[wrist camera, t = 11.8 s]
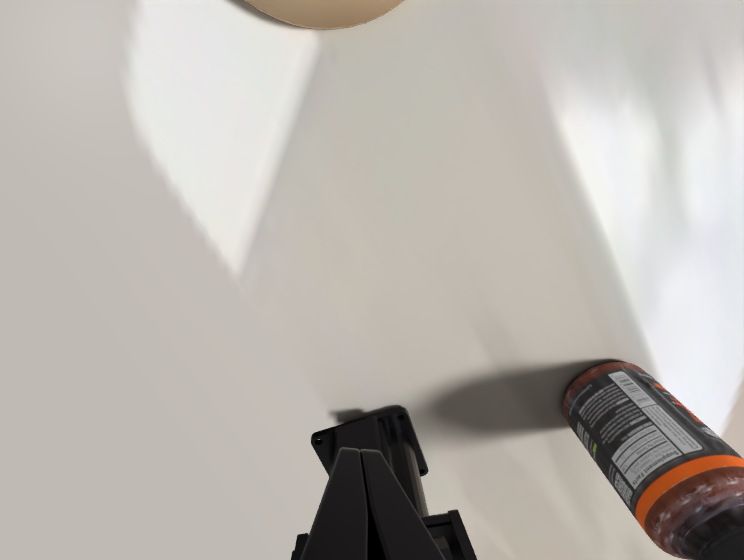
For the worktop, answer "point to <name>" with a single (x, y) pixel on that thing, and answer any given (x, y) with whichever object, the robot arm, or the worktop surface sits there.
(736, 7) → the worktop surface
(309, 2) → the coaster
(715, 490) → the supplement bottle
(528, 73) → the worktop surface
